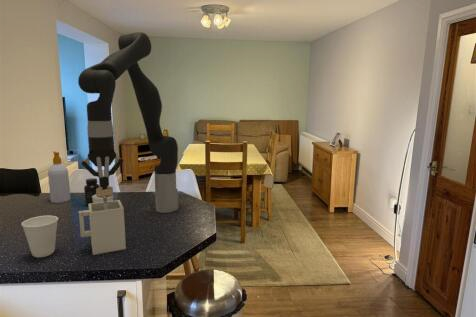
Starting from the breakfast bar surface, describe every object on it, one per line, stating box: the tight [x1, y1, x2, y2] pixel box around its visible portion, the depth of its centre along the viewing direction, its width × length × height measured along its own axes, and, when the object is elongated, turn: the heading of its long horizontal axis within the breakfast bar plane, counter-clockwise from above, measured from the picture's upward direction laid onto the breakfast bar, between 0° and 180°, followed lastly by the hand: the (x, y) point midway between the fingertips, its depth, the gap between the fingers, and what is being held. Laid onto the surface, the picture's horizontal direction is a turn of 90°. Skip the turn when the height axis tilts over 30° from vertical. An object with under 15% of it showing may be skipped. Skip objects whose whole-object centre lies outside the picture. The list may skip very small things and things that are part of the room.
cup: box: [21, 214, 59, 258], centre depth 103 cm, size 10×10×11 cm
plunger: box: [96, 185, 114, 210], centre depth 108 cm, size 8×8×19 cm
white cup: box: [92, 194, 114, 203], centre depth 134 cm, size 8×8×10 cm
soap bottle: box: [47, 150, 71, 204], centre depth 157 cm, size 9×9×24 cm
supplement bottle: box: [83, 177, 100, 207], centre depth 152 cm, size 7×7×12 cm
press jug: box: [78, 199, 127, 256], centre depth 108 cm, size 13×10×14 cm
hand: (104, 187), depth 106 cm, fingers closed
